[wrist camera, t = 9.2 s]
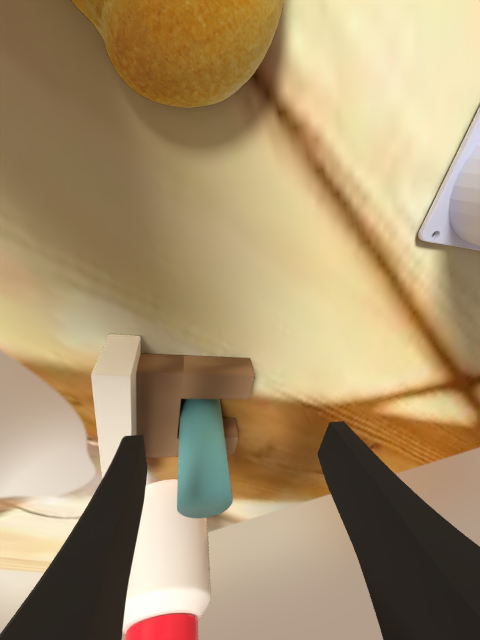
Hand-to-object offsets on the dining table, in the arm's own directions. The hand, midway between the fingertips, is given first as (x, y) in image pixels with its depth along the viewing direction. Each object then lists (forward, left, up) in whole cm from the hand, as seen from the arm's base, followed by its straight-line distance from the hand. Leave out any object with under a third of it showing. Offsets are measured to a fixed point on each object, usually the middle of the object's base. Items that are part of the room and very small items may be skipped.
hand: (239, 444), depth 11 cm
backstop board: (+6, +8, -10) cm, 14 cm away
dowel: (0, +8, -10) cm, 13 cm away
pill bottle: (+2, +23, -10) cm, 25 cm away
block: (+1, +8, -10) cm, 13 cm away
